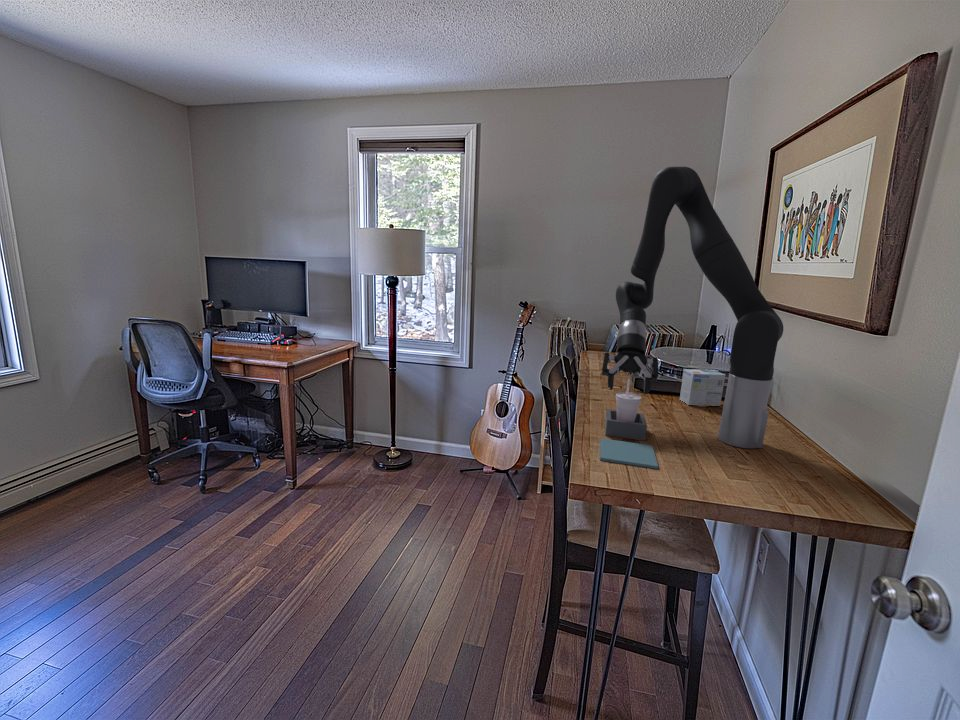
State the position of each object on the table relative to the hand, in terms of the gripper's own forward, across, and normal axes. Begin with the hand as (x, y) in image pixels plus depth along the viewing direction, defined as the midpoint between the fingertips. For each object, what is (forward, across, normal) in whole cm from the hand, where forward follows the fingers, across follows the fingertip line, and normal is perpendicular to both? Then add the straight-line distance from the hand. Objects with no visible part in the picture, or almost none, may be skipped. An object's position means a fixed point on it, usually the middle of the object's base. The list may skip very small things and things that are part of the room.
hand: (628, 390), depth 121 cm
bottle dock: (+9, 0, +6) cm, 11 cm away
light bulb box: (-17, +25, +32) cm, 44 cm away
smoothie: (+9, 0, +6) cm, 11 cm away
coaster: (+20, 0, -5) cm, 20 cm away
